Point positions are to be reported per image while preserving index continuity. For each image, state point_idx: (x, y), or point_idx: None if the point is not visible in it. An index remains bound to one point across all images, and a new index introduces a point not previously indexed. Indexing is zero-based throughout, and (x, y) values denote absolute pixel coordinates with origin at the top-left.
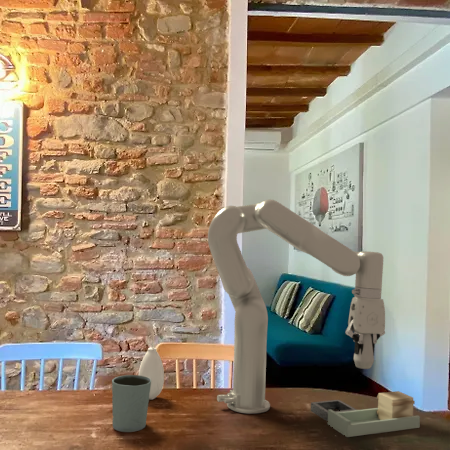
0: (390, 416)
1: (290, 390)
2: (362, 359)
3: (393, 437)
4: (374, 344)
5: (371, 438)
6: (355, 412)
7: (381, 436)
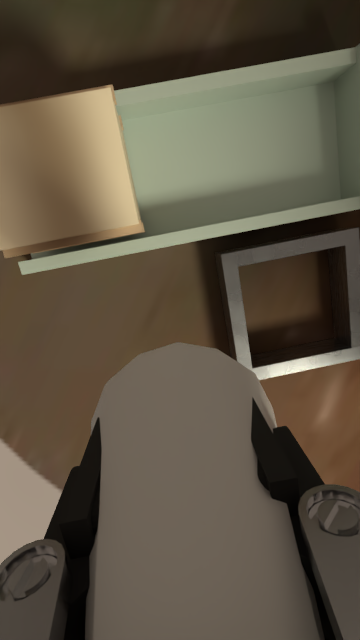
0: (122, 133)
1: None
2: (235, 366)
3: (161, 37)
4: (40, 549)
5: (256, 40)
6: (249, 217)
7: (205, 56)
